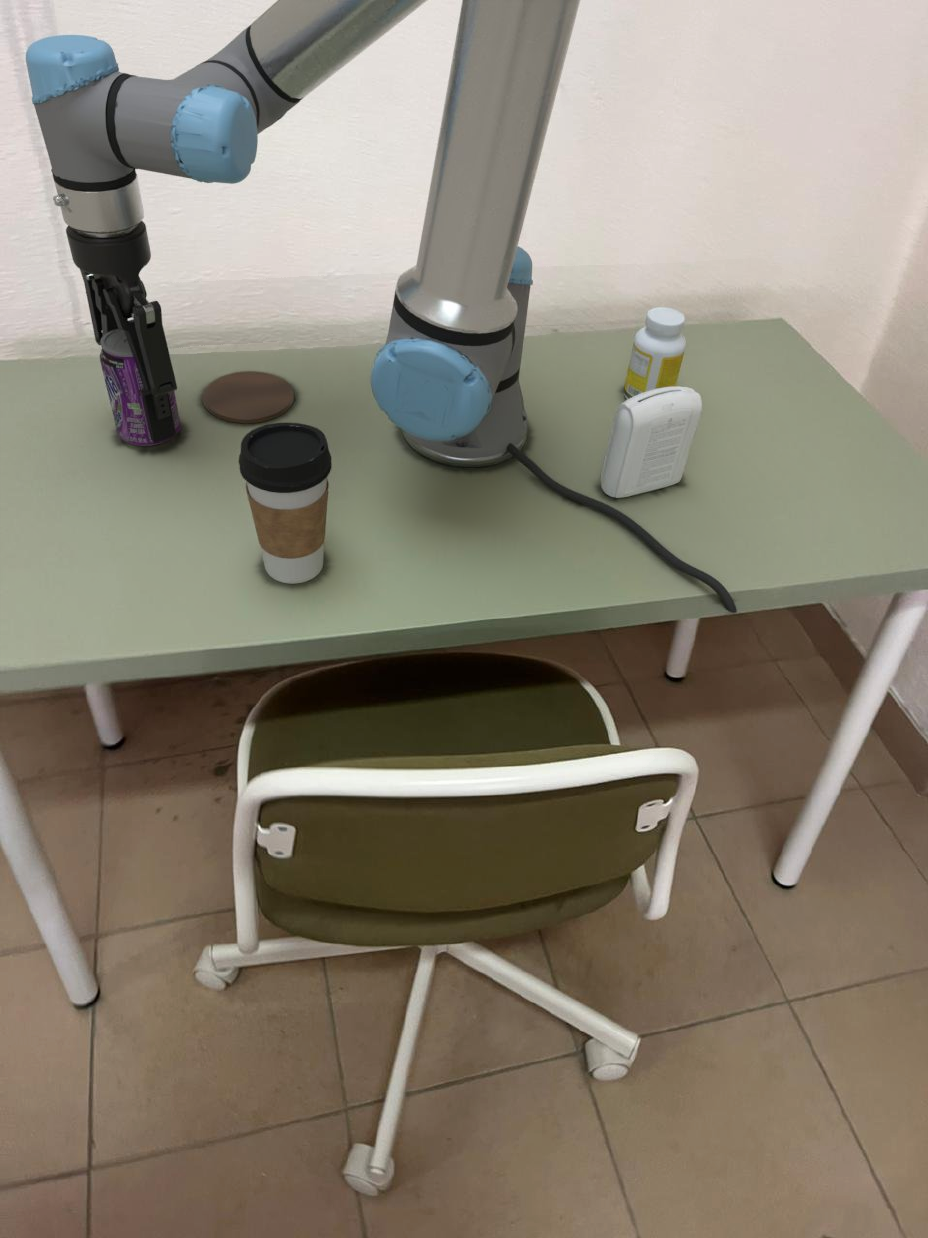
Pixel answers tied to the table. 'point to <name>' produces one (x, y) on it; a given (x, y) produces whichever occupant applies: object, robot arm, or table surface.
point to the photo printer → (650, 441)
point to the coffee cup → (288, 496)
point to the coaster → (248, 397)
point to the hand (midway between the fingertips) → (147, 422)
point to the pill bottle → (656, 352)
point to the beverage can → (128, 390)
